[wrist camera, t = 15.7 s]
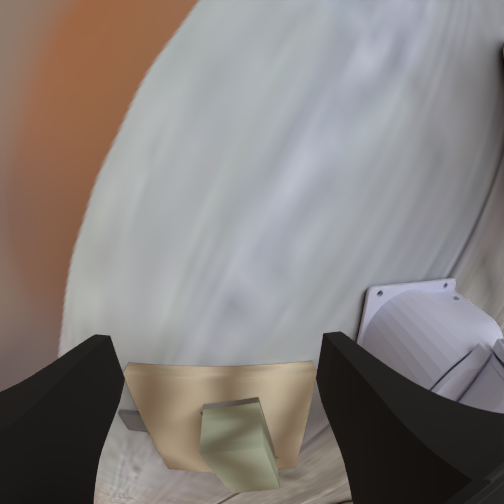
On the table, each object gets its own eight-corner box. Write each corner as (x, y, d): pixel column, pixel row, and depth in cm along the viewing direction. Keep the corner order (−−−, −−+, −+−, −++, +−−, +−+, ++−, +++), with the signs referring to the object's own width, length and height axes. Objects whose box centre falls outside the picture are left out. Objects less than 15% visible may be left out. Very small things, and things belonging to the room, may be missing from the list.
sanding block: (258, 396, 19) (264, 447, 14) (274, 448, 22) (280, 487, 17) (203, 404, 19) (199, 453, 15) (230, 453, 22) (231, 492, 17)
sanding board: (312, 360, 20) (316, 372, 19) (293, 458, 25) (295, 467, 24) (128, 362, 19) (123, 374, 18) (170, 459, 25) (168, 468, 23)
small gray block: (146, 408, 22) (144, 415, 21) (155, 425, 23) (154, 432, 22) (120, 406, 22) (118, 412, 21) (130, 423, 23) (128, 429, 22)
